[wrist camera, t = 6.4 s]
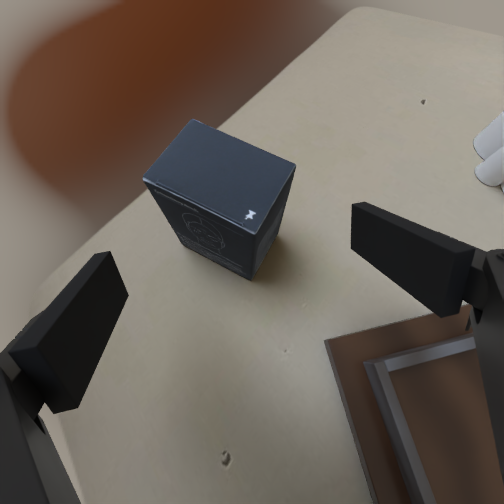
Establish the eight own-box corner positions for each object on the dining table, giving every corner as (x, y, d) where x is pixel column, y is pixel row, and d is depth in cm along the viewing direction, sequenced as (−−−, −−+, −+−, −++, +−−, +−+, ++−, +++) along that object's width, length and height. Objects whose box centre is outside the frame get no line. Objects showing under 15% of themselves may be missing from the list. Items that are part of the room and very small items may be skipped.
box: (278, 233, 26) (299, 162, 16) (251, 282, 24) (255, 237, 14) (210, 199, 27) (190, 113, 17) (179, 244, 25) (137, 177, 15)
